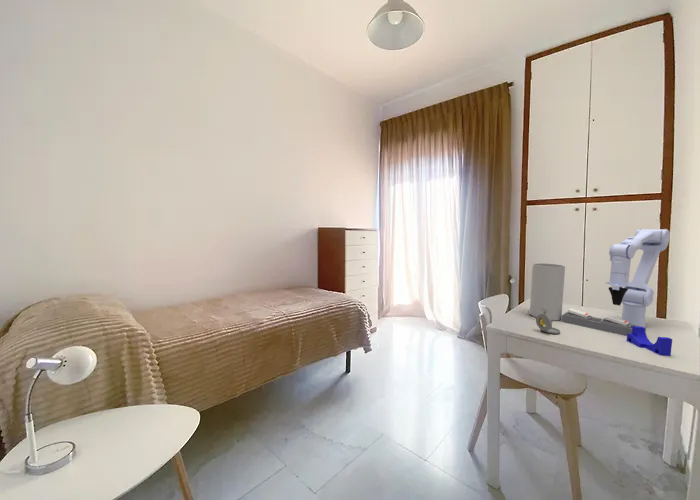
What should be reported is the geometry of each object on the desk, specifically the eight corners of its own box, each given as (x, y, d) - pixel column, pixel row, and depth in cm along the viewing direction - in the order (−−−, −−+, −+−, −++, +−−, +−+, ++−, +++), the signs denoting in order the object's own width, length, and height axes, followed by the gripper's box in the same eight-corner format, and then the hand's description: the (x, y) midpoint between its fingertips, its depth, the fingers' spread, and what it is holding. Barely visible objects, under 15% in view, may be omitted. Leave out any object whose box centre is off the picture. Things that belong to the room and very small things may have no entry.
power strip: (566, 318, 133) (567, 310, 133) (645, 334, 113) (646, 325, 113) (561, 321, 128) (562, 313, 128) (643, 339, 108) (644, 330, 108)
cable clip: (626, 341, 107) (627, 325, 106) (640, 342, 106) (641, 326, 106) (654, 355, 95) (656, 338, 95) (670, 356, 94) (672, 339, 94)
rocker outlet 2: (605, 317, 121) (607, 314, 121) (627, 325, 116) (629, 321, 115) (603, 319, 118) (605, 316, 118) (626, 327, 113) (627, 323, 113)
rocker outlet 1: (569, 310, 131) (570, 307, 130) (588, 317, 125) (589, 313, 125) (567, 312, 128) (568, 309, 127) (586, 319, 123) (587, 315, 122)
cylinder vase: (523, 314, 138) (526, 264, 136) (539, 311, 143) (542, 262, 141) (551, 322, 126) (554, 267, 124) (567, 319, 132) (571, 266, 130)
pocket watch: (561, 331, 116) (562, 307, 115) (558, 337, 110) (560, 312, 109) (537, 326, 121) (539, 303, 120) (533, 331, 115) (535, 308, 114)
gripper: (610, 270, 125) (607, 300, 126) (603, 273, 116) (600, 305, 117) (632, 272, 120) (629, 303, 121) (627, 275, 110) (624, 309, 112)
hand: (616, 304), depth 118 cm, fingers closed
